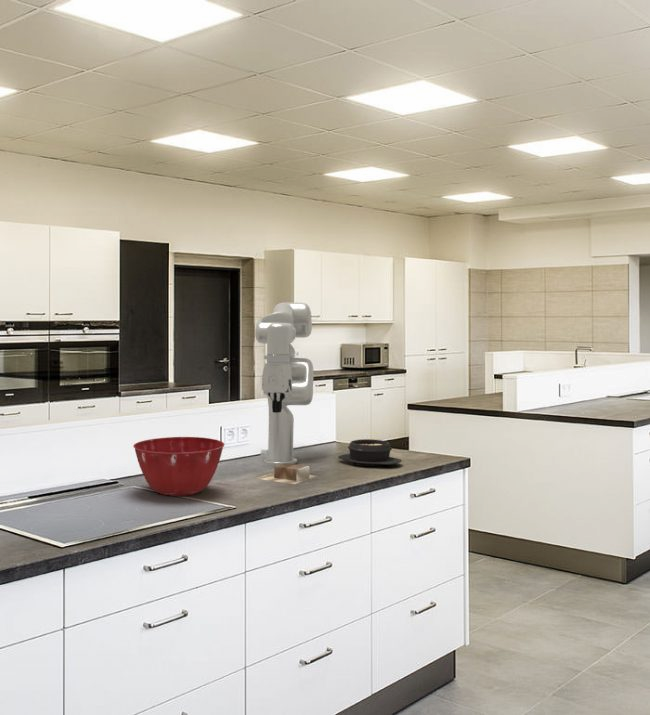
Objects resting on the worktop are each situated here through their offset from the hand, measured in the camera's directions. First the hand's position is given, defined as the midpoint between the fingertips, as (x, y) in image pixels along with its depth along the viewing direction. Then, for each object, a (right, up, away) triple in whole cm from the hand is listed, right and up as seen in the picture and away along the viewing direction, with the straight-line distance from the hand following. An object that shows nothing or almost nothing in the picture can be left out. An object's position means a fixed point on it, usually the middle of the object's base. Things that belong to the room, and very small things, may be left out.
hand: (276, 412), depth 285 cm
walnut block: (+1, -20, 0) cm, 20 cm away
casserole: (+34, -22, +30) cm, 50 cm away
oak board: (+3, -23, -1) cm, 23 cm away
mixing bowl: (-30, -24, -23) cm, 45 cm away
